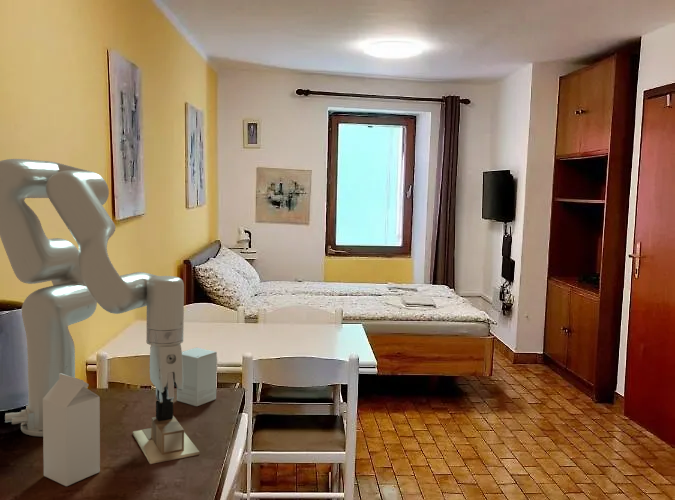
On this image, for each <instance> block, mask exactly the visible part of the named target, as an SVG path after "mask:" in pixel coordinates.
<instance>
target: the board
mask: <svg viewBox="0 0 675 500" xmlns="http://www.w3.org/2000/svg"><path fill="white" fill-rule="evenodd" d="M132 436H133V437H134V439H135V440H136V442H137V444H138V445H139V447H140V449H141V451H142V452H143V454H144V456H145V458H146V459H147V461H148V463H149V465H152V464H156V463H162V462H167V461H173V460H178V459H183V458H188V457H194V456H199V455H201V454H200V450H199V449H198V448H197V446H196V445H195V444H194V443H193V442H192V440H191V439H190V438H189V436H188V435H187V433H186V432H185V431H184V451H179V452H174V453H169V454H164V455H162V454H161V453H160V451H159V449H158V448H157V446H156V445H155V443H154V441H153V440H152V438H151V427H150V428H149V427H148V428H144V429H139V430H134V431H132Z"/></svg>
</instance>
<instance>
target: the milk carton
mask: <svg viewBox="0 0 675 500" xmlns="http://www.w3.org/2000/svg"><path fill="white" fill-rule="evenodd" d="M88 387H89V383H87V382H86V381H85V380H84V379H80V378H77V377H75V378H74V377H71V376H68V375H65V374H62V373H59V380H58V381H57V382H56V383H55V385H54V386H53V387H52V388H51V389H50V391H49V392H48V393H47V394H46V395H45V397H44V398H43V436H42V438H43V440H42V441H43V442H42V444H43V445H42V446H43V447H42V448H43V449H42V450H43V452H42V453H43V454H42V455H43V476H44V477H45V478H48V479H50V480H51V481H53V482H56V483H58V484H60V485H62V486H64V487H68V486H71V485H73V484H75V483H77V482H80V481H82V480H84V479H86V478H89V477H91V476H93V475H96V474H98V473H100V472H101V432H100V431H101V428H100V427H101V425H100V423H101V420H100V419H101V415H100V414H101V410H100V409H101V408H100V407H101V401H100V400H101V399H100V398H101V397H100V396H99V395H98V394H96V392H93V391H91V390H90V389H88Z"/></svg>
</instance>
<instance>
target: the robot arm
mask: <svg viewBox="0 0 675 500" xmlns="http://www.w3.org/2000/svg"><path fill="white" fill-rule="evenodd" d="M109 192H110V190H109V186H108V184H107V182H106V180H105V179H104V178H103V177H102V175H100V174H99V173H97V172H95V171H92V170H87V169H83V168H79V167H74V166H71V165H67V164H63V163H59V162H55V161H49V160H39V159H38V160H37V159H27V158H24V159H23V158H9V159H8V158H7V159H2V160H0V240H1V243H2V246H3V248H4V251H5V254H6V256H7V258H8V260H9V263H10V265H11V267H12V268H11V269H12V271H13V274H14V275H15V277H16V278H17V279H18V281H20V282H22V283H23V284H28V285H32V284H41V283H46V282H47V283H48V282H51V283H52V285H51V286H46V287H45V286H44V287H42V288H39V289H36V290H34V291H33V292H31V293H30V294H28V296H26V298H25V299H24V301H23V303H22V305H21V318H22V322H23V326H24V330H25V336H26V347H27V348H26V350H27V387H28V390H27V394H28V395H27V396H28V398H27V399H28V400H27V402H28V403H27V404H28V405H27V404H26V405H25V407H26V408H25V409H21V410H20V411H19V412H18V411H17V412H5V415H4V420H5V421H4V423H11V425H17V424H20V430H21V431H20V432H22V433H23V434H25V435H29V436H32V437H43V398H44V397H45V395H46V394H47V393H48V392H49V391H50V389H51V388H52V387H53V386H54V385H55V383H56V382H57V381H58V380H59V373H62V374H65V375H68V376H71V377H74V378H76V349H75V348H76V347H75V342H74V339H73V336H72V335H71V333H70V329H69V326H71V325H74V324H78V323H80V322H83V321H85V320H87V319H89V318H90V317H92V316H93V314H94V313H95V312H96V309H97V305H99V306H100V307H101V308H102V309H103V310H104V311H106V312H108V313H110V314H114V315H115V314H116V315H118V314H123V313H128V312H130V311H132V310H137V309H140V308H143V307H146V344H148V345H150V351H149V379H150V382H151V383H152V384H153V386H154V387H155V400H156V401H155V417H156V418H157V420H158V421H163V420H169V419H172V418H173V416H174V399H175V387H176V389H177V388H178V389H179V390H182V389H183V361H182V352H183V350H182V343H183V342H184V329H185V328H184V322H185V321H184V318H185V317H184V313H185V312H184V311H185V309H184V307H185V306H184V305H185V284H184V280H183V279H182V278H180V277H178V276H175V275H156V274H153V273H148V272H144V271H143V272H142V271H137V272H135V271H134V272H131V273H126V274H122V275H120V274H119V273H118V271H117V270H116V268H115V267H114V265H113V263H112V261H111V259H110V257H109V254H108V243H109V240H110V238H111V237H112V236H113V235H114V234H115V231H116V224H115V222H114V221H113V220H112V218H111V216H110V215H109V213H108V212H107V210H106V209H105V207H104V205H105V204H106V202H107V201H108V198H109V194H110V193H109ZM25 199H48V200H49V202H50V203H51V205H52V206H53V207H54V209H55V211H56V212H57V214H58V215H59V217H60V219H61V220H62V222H63V223H64V225H65V226H66V227H67V229H68V230H69V232H70V234H71V235H72V237H73V239H74V240H75V242H76V244H77V245H78V248H77V246H76V245H75V244H74V243H72V242H70V240H68V239H64V238H58V237H57V238H55V237H54V238H48V237H47V235H46V233H45V231H44V229H43V226H42V223H41V221H40V219H39V216H37V214H36V212H35V211H34V210H33V209H32V208H31V207H30V206H29V205H28V204H27V203H26V201H25Z"/></svg>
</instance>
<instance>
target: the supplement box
mask: <svg viewBox="0 0 675 500" xmlns="http://www.w3.org/2000/svg"><path fill="white" fill-rule="evenodd" d="M217 353H218V352H217V351H214V350H210V349H205V348H201V347H194V348H190V349H187V350H184V351H183V350H182V361H183V389H182V390H179V389H178V388H177V387H176V401H177V402H180V403H184V404H188V405H189V406H193V407H198V406H199V407H200V406H201V405H204V404H206V403H209V402H212V401H214V400H216V399H217V358H218V357H217V355H218V354H217Z"/></svg>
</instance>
